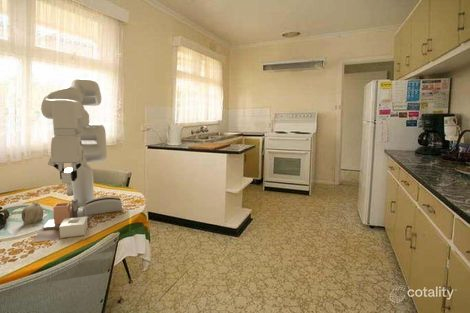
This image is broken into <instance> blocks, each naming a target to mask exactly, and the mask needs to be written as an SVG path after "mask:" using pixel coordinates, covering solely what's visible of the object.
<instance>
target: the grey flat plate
mask: <svg viewBox="0 0 470 313" xmlns="http://www.w3.org/2000/svg"><path fill="white" fill-rule="evenodd" d="M91 220H92V217H91V216H89V219H88V221H87V225H88V226H89V225H90V222H91ZM48 221H49V220H48ZM48 221H46V223H47V222H48ZM46 223H45V224H46ZM45 224H44V225H43V226H42V228H41V229H40V230H39V231H38V232H37V234H36V235H35V236H34V238H33V239H32V240H31V241H30V243H38V242H47V241H55V240H56V241H57V240H64V239H72V238H73V239H74V238H82V237H85V235H81V236H72V237H64V238H60V229H59V228H55V229H45V230H43V227H44V226H45Z"/></svg>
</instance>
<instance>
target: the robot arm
mask: <svg viewBox="0 0 470 313" xmlns="http://www.w3.org/2000/svg"><path fill="white" fill-rule="evenodd" d="M101 103H102V94H101V89H100V86H99V84H98V82H97V81H96V80H95V79H92V78H91V79H90V78H76V77H75V78H74V77H73V78H68V79H67V80H65V82H64V83H63V86H62V88H60V89H57V90H55V91H51V92H48V93H46V94H45V96H44V98H43V99H42V102H41V105H40V106H41V107H40V110H41V114H42V116H44V117H45V118H46V119H49V120H52V125H53V136H52V137H51V141H50V158H49V160H48V162H47V165H48V166H51V167H54V168H55V169H56V170H58V172H59V177H60V180H62V177H61V173H62V172H63V171H64V170H65V164H70V165H71V167H70V168H73V169H72V179H73V181H72V183H73V200H74V199H77V200H78V207H82V206H85V205H86V202H87V201H89V200H92V199H95V198H96V197H95V191H94V190H95V188H94V171H93V168H92V167H91V166H90V164H88V163H95V162H97V163H98V162H103V161H104V162H105V161H106V159H107V138H106V137H107V136H106V135H107V134H106V129H105V127H104V125H103V124H101V123H91V122H90V113H89V112H88V111H87V110H86V109H85V107H84V106H91V107H92V106H93V107H96V106H99V105H101ZM83 142H84V143H83ZM85 142H95V143H85ZM70 206H72V204H71V203H70Z"/></svg>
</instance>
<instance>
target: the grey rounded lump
mask: <svg viewBox="0 0 470 313" xmlns="http://www.w3.org/2000/svg"><path fill="white" fill-rule="evenodd" d="M44 215H45V214H44V209H43V207H42V206H41V204H40V203H39V202H36V201H33V202H32V204H31V203H30V205H27V206H25V207H24V208H23V209H22V211H21V220H22V221H23V223H22V224H23V225H24V226H27V225H28V224H29V225H31V224H35V223H38V222H39V221H41V220H42V219H43V217H44Z"/></svg>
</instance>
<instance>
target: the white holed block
mask: <svg viewBox="0 0 470 313" xmlns="http://www.w3.org/2000/svg"><path fill="white" fill-rule="evenodd" d="M88 227H89V225H87V217H76V218H66V219H64V220H63V222H62V223H61V225H60V226H59V229H60V238H64V237H72V236H81V235H84V236H85V234H86V232H87V230H88Z"/></svg>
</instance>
